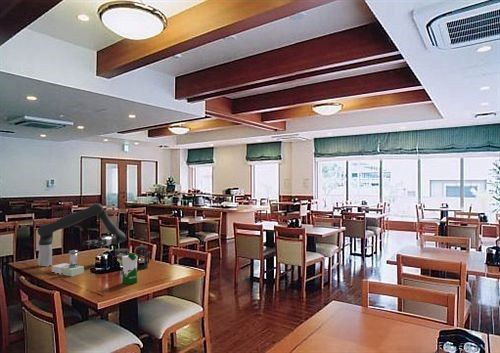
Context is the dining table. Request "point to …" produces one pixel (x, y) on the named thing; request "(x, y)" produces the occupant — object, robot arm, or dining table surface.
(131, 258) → the milk carton
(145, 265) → the french press
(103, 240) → the robot arm
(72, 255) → the cylinder
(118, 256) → the coffee can
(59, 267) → the stand
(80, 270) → the stand
